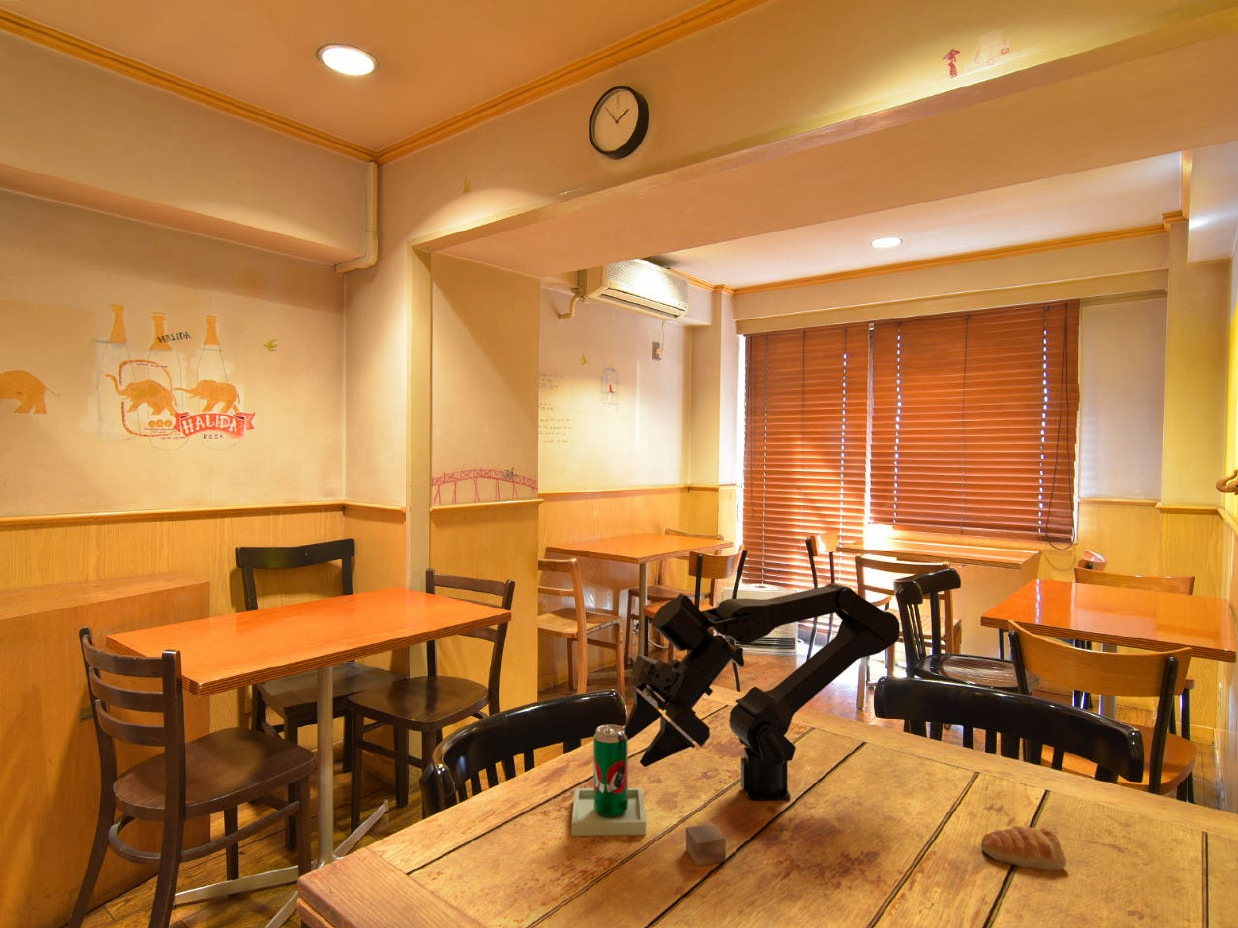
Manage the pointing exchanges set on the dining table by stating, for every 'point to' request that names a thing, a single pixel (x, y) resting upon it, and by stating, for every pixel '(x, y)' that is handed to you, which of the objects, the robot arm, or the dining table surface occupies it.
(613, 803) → the soda can
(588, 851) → the dining table surface
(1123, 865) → the dining table surface
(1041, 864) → the pastry
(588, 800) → the tray
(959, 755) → the dining table surface
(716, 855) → the small brown cube
